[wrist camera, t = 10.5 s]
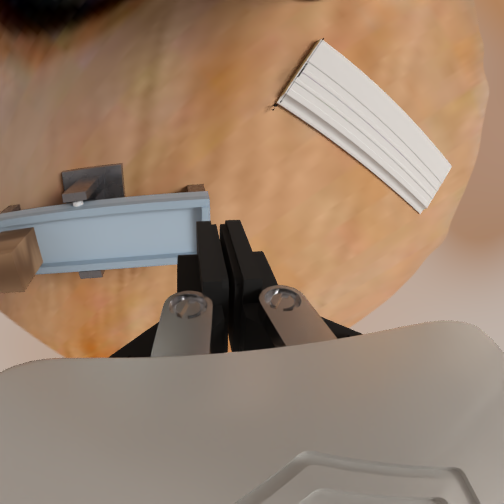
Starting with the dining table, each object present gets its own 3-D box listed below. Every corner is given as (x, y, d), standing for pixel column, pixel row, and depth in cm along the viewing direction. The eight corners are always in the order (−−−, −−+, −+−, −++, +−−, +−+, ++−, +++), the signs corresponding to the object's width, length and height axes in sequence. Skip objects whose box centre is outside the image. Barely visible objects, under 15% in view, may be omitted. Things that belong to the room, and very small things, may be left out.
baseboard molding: (412, 218, 48) (445, 163, 45) (422, 225, 46) (457, 168, 42) (268, 111, 36) (315, 40, 32) (274, 112, 33) (325, 36, 30)
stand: (4, 182, 31) (-26, 201, 24) (203, 156, 36) (208, 171, 30) (23, 260, 36) (1, 289, 30) (205, 245, 42) (211, 276, 35)
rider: (1, 231, 26) (-24, 256, 21) (33, 227, 27) (11, 252, 22) (11, 264, 29) (-10, 293, 23) (43, 262, 30) (24, 291, 24)
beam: (-15, 213, 26) (-26, 222, 24) (207, 187, 32) (209, 195, 29) (1, 269, 30) (-8, 280, 28) (209, 253, 36) (211, 265, 33)
